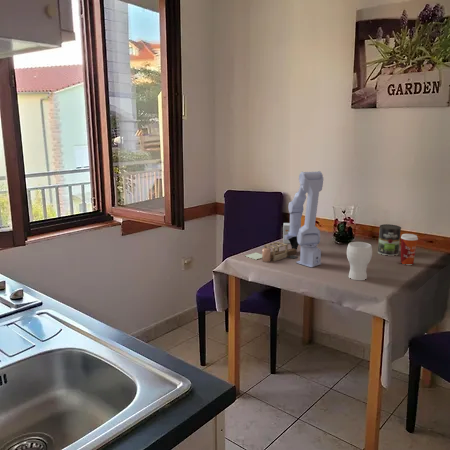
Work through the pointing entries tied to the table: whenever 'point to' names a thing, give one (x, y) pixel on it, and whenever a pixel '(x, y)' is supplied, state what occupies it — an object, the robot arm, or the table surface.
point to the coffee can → (389, 239)
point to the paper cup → (408, 248)
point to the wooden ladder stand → (279, 256)
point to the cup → (358, 259)
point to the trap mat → (292, 256)
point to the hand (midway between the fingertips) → (294, 250)
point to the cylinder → (266, 254)
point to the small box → (286, 231)
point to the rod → (290, 252)
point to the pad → (254, 256)
